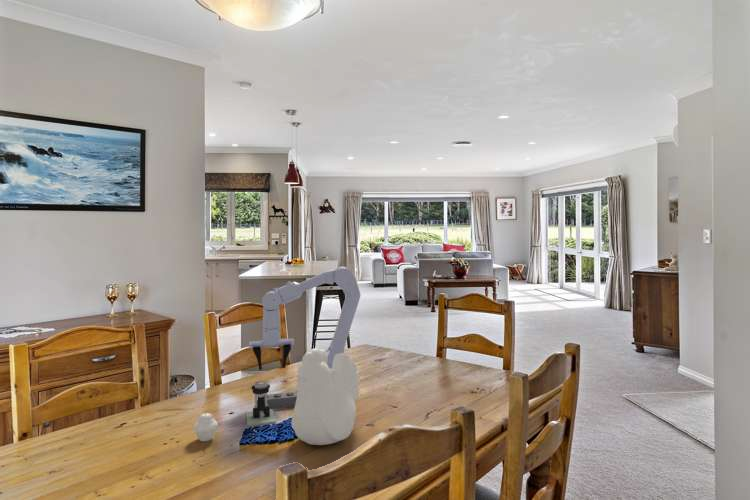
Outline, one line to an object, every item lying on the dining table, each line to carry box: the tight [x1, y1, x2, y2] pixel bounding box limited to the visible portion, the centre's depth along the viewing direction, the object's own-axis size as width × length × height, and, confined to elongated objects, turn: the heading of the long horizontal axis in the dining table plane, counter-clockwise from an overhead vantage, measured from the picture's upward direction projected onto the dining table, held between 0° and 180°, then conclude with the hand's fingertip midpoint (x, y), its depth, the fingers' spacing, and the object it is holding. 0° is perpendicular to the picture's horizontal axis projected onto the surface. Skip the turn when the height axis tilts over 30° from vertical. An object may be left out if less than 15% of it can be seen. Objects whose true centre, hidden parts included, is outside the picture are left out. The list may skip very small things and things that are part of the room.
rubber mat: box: [245, 408, 277, 427], centre depth 139 cm, size 8×10×1 cm
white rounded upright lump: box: [291, 347, 360, 446], centre depth 126 cm, size 25×16×25 cm, turn 136°
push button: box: [246, 381, 271, 419], centre depth 138 cm, size 7×5×10 cm
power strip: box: [264, 390, 298, 410], centre depth 151 cm, size 18×5×4 cm, turn 108°
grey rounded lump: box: [193, 412, 219, 442], centre depth 125 cm, size 6×6×7 cm
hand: (272, 368), depth 156 cm, fingers open, 7 cm apart
